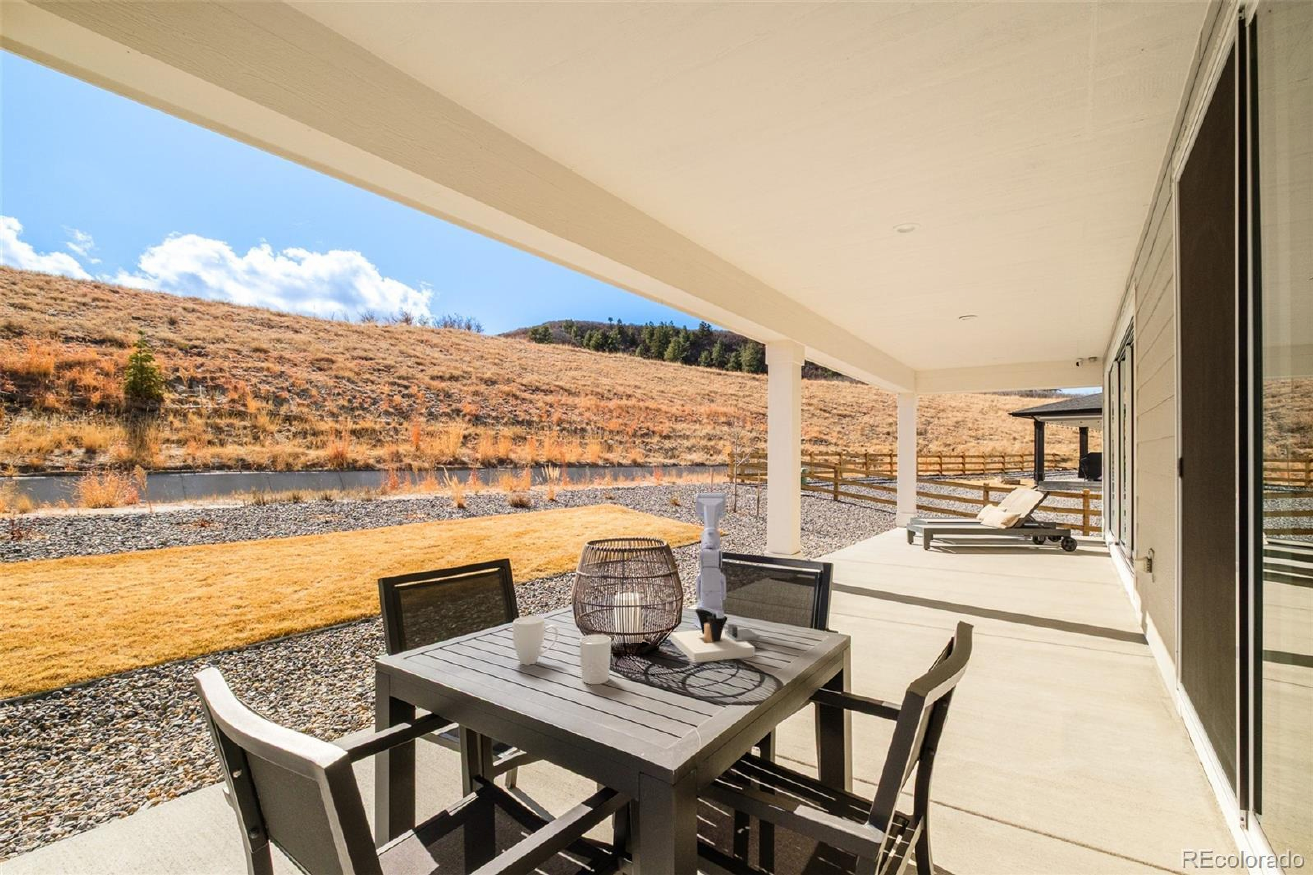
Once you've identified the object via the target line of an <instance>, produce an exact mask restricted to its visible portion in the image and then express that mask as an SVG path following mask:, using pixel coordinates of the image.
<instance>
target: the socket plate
mask: <svg viewBox="0 0 1313 875" xmlns="http://www.w3.org/2000/svg"><path fill="white" fill-rule="evenodd" d="M726 628H727V627H725V628H723V630H722V634H721V639H720V641H718V642H715V643H704V634H703V633H702V630H701V629H698V630H687V631H685V630H684V631H676V632H675V631H674V632H670V642H671V643H672V644H673V645H675V647H676V648H678V650H680V651H681V652H682V653H683V654H684V655H685V656H686V657H687V658H689V659H690V660H691V661H692V662H693V663H695V664H696V663H706V662H714V661H715V662H716V661H723V660H724V659H725V660H732V659H742V658H743V659H744V658H751V657H752V656H753V657H756V656H755V655H756V653H755V652H756V649H755V646H753V645H752V644H751V643H749V642H748V641H747V640H742V641H735V640H734V639H732V638H731V637H729V636H728V635H726V634H725V631H728V628H727V629H726ZM753 657H752V658H753Z"/></svg>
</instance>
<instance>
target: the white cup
mask: <svg viewBox="0 0 1313 875" xmlns="http://www.w3.org/2000/svg"><path fill="white" fill-rule="evenodd" d="M611 650H612V638H611V637H610V636H609V635H606V634H588V635H584V636H581V637H580V638H579V655H580V656H579V657H580V658H579V659H580V670H581V681H582V682H583V683H584V682H585V683H584V684H587V683H588V684H589V685H600V684H601V685H602V684H604V683H606V682H608V681H609V680H610V669H611V658H612V657H611V656H612V655H611V653H612V651H611Z"/></svg>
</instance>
